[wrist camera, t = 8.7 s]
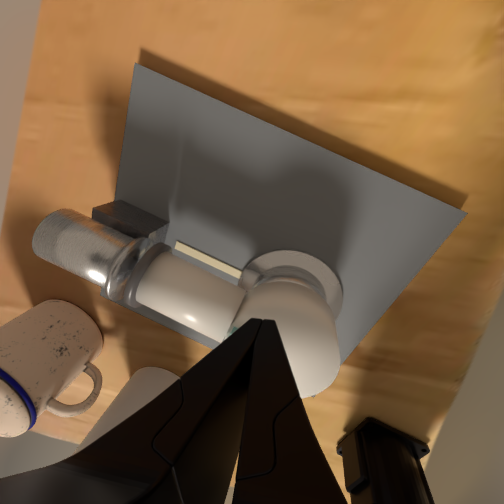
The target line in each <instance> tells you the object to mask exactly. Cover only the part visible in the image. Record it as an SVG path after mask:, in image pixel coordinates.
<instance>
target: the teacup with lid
mask: <svg viewBox="0 0 504 504" xmlns="http://www.w3.org/2000/svg"><path fill="white" fill-rule="evenodd" d="M102 347H103V340H102V335H101V333H100V330H99V328H98V327H97V325H96V323H95V322H94V321H93V320H92V318H91V317H90V316H89V315H88V314H87V313H85V312H84V311H83V310H82V309H80V308H79V307H77V306H75V305H73V304H71V303H69V302H66V301H62V300H46V301H44V302H41V303H40V304H38V305H36V306H35V307H33V308H31V309H30V310H28V311H26V312H25V313H23V314H21V315H20V316H18V317H16V318H15V319H13V320H11V321H10V322H8V323H6V324H5V325H3V326H1V327H0V436H1V437H14V436H18V435H20V434H22V433H24V432H25V431H27V430H29V429H30V428H32V427H33V425H34V424H35V422H36V419H37V418H38V417H39V416H40V415H41V414H42V413H43V412H44V411H45V410H48V411H50V412H51V413H53V414H55V415H57V416H61V417H72V416H76V415H79V414H82V413H83V412H85V411H86V410H88V409H89V408H90V407H91V406H92V405H93V403H94V402H95V401H96V399H97V397H98V395H99V393H100V390H101V387H102V375H101V372H100V370H99V369H98V368H97V367H96V366H95V365H93V364H92V362H93V361H94V360H95V359H96V358H97V357H98V356H99V354H100V353H101V350H102ZM82 372H85V373H87V374H88V375H89V376H90V377H91V378H92V379H93V382H94V389H93V391H92V393H91V394H90V396H89V397H88V398H87V399H86V400H85V401H83V402H81V403H79V404H76V405H66V404H63V403H61V402H59V401H57V400H56V398H57V397H58V396H59V395H60V394H61V393H62V392H63V391H64V390H65V389H66V388H67V387H68V386H69V385H70V384H71V383H72V382H73V381H74V380H75V379H76V378H77V377H78V376H79V375H80V374H81V373H82Z"/></svg>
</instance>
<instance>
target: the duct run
mask: <svg viewBox="0 0 504 504" xmlns="http://www.w3.org/2000/svg"><path fill="white" fill-rule="evenodd" d="M169 224H170V222H168V221H166V220H164V219H161V218H159V217H157V216H155V215H153V214H151V213H149V212H146V211H144V210H142V209H140V208H138V207H136V206H134V205H131V204H129V203H127V202H125V201H123V200H121V199H120V200H117V201H113V202H110V203H107V204H104V205H100V206H97V207H94V208H93V210H92V219H91V218H89V217H87V216H85V215H83V214H81V213H79V212H77V211H74V210H72V209H60V210H57V211H55V212H53V213H51V214H49V215H48V216H47V217H46V218H45V219H43V221H42V222H41V223H40V224H39V225H38V227H37V229H36V230H35V233H34V235H33V239H32V248H33V251H34V253H35V254H36V255H37V256H38V257H40V258H42V259H44V260H46V261H48V262H50V263H52V264H54V265H56V266H59V267H61V268H63V269H65V270H67V271H69V272H71V273H73V274H75V275H77V276H80V277H82V278H84V279H86V280H88V281H90V282H92V283H94V284H96V285H98V286H100V287H103V288H105V294H106V296H107V297H108V298H110V299H112V300H114V301H118V300H121V299H123V298H124V291H125V287H126V284H127V282H128V279H129V277H130V275H131V273H132V271H133V269H134V268H135V266H136V265H137V263H138V262H139V260H140V259H141V258H142V256H143V255H144V254H145V253H146V252H147V251H148V250H149V249H150V248H151V247H152V246H153V245H155V244H157V243H159V242H163V243H165V239H166V235H167V231H168V227H169Z"/></svg>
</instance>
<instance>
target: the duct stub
mask: <svg viewBox="0 0 504 504" xmlns="http://www.w3.org/2000/svg"><path fill="white" fill-rule="evenodd" d="M277 281H284V282H292V283H296V284H300V285H303V286H305V287H307V288H309V289H311V290H313V291H314V292H316V293H317V294H319V295H320V296H321V297H322V298H323V299H324V300H325V301H326V303H327V304H328V305H329V307H330V308H331V310H332V312H333V315H334V318H335V321H336V320H337V318H338V317H339V314H340V312H341V309H342V303H343V295H342V289H341V285H340V282H339V280H338V278H337V276H336V275H335V273H334V272H333V271H332V269H331V268H330V267H329V266H328V265H327V264H326V263H325V262H323V261H322V260H320V259H319V258H317V257H315V256H314V255H311V254H309V253H306V252H303V251H299V250H293V249H280V250H274V251H269V252H267V253H264V254H262V255H260V256H258V257H257V258H255V259H254V260H252V261H251V262H250V263H249V264H248V265H247V267H246V268H245V269H244V271H243V273H242V274H241V276H240V279H239V282H238V287H240V288H242V289H244V290H246V293H245V295H246V294H247V293H248V292H249V291H250V290H252V289H253V288H255V287H257V286H259V285H262V284H265V283H269V282H277ZM245 295H244V296H245Z"/></svg>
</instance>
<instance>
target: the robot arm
mask: <svg viewBox="0 0 504 504" xmlns="http://www.w3.org/2000/svg"><path fill="white" fill-rule="evenodd" d="M180 379H181V380H180ZM180 379H177V380H176V381H175V382H174V383H173V384H171V385H170V386H169V387H168V388H167V389H165V390H164V391H163V392H162V393H160V394H159V395H158V396H157V397H155V398H154V399H153V400H151V401H150V402H149V403H147V404H146V405H145V406H143V407H142V408H140V409H139V410H138V411H136V412H135V413H134V414H132V415H131V416H129V417H128V418H126V419H125V420H124V421H122V422H121V423H119V424H118V425H117V426H115V427H114V428H112V429H111V430H109V431H108V432H107V433H105V434H104V435H102V436H101V437H99V438H98V439H97V440H95V441H94V442H92V443H91V444H90V445H88V446H87V447H85V448H84V449H82V450H81V451H79V452H77V453H76V454H74V455H72V456H70V457H69V458H67V459H64V460H62V461H60V462H58V463H55V464H53V465H49V466H46V467H43V468H39V469H35V470H31V471H27V472H23V473H20V474H16V475H12V476H8V477H5V478H0V504H224V502H225V499H226V495H227V492H228V489H229V485H230V481H231V478H232V474H233V471H234V467H235V464H236V460H237V457H238V453H239V458H238V465H237V472H236V479H235V480H236V483H235V487H234V494H233V500H232V504H348V503H347V501H346V499H345V497H344V495H343V493H342V491H341V489H340V486H339V484H338V482H337V480H336V478H335V476H334V474H333V472H332V470H331V468H330V466H329V464H328V462H327V460H326V458H325V455H324V453H323V451H322V449H321V447H320V445H319V443H318V440H317V438H316V436H315V434H314V431H313V429H312V427H311V424H310V421H309V419H308V416H307V413H306V411H305V408H304V405H303V402H302V399H301V397H300V393H299V390H298V387H297V384H296V381H295V378H294V375H293V372H292V369H291V366H290V363H289V360H288V357H287V354H286V351H285V348H284V345H283V342H282V339H281V336H280V333H279V330H278V327H277V324H276V321H275V320H272V319H264V320H262V319H260V318H250V319H249V320H248V321H247V322H245V323H244V324H243V325H242V326H241V327H239V328H238V329H237V330H236V331H235V332H234V333H232V334H231V335H230V336H229V337H228V338H226V339H225V340H224V341H223V342H222V343H220V344H219V345H218V346H217V347H216V348H214V349H213V350H212V351H211V352H210V353H209V354H207V355H206V356H205V357H204V358H203V359H201V360H200V361H199V362H198V363H197V364H195V365H194V366H193V367H192V368H191V369H189V370H188V371H187V372H186V373H185V374H183V375H182V376H181V377H180ZM239 449H240V450H239ZM336 449H337V454H339V455H341V456H342V457H343V467H344V477H345V487H346V490H347V492H349V493H350V497H351V504H435V503H434V500H433V497H432V494H431V492H430V489H429V486H428V483H427V480H426V477H425V474H424V471H423V468H422V465H421V462H420V459H421V458H422V457H424V456H425V455H426V454H428V453H429V452H430V450H429V447H428V445H427V444H426V443H423V442H421V441H419V440H417V439H415V438H413V437H411V436H409V435H407V434H405V433H403V432H400V431H398V430H396V429H394V428H392V427H390V426H388V425H386V424H384V423H382V422H380V421H377V420H375V419H373V418H367V419H365V420H364V421H363V422H362V423H361V424H360V425H359V426H358V427H357V428H356V429H355V430H354V431H353V432H352V433H351V434H350V435H348V436H347V437H346V438H345V439H344V440H343V441H342V442H341V443H340V444H339V445H338V446H337V447H336Z"/></svg>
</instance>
